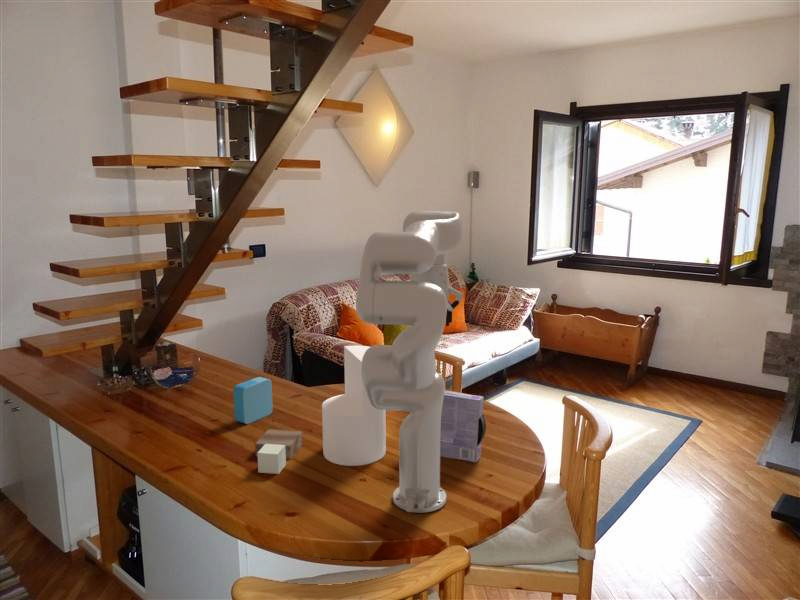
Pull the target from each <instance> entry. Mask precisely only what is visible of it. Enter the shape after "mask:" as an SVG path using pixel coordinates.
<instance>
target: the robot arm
mask: <svg viewBox="0 0 800 600" xmlns="http://www.w3.org/2000/svg"><path fill="white" fill-rule="evenodd" d="M463 233H464V222H463V218H462V216H461V214H460V213H459V212H457V211H447V210H445V211H441V210H420V211H412V212H410V213H408V214H407V215H406V217H405V219H404V220H403V222H402V232H400V231H377V232H373V233H372V234H371V235H370V236H369V237H368V239H367V241H366V243H365V246H364V249H363V253H362V257H361V262H360V263H361V264H360V271H359V277H358V284H357V290H356V297H355V309H356V313H357V317H358V318H359V319H360V320H361V321H362V322H364V323H366V324H370V325H392V326H393V325H395V326H396V325H397V326H407V327H406V328H404V329H403V330H402V331H401V332H399V334H398V335H397V336H396V338H394V340H393V342H392V345H380V344H378V345H373V346H369V347H370V348H369V349H367V350H366V352H365V353H364V356H363V358H362V364H361V375H362V381H363V385H364V388H365V391H366V393H367V396H368V399H369V402H370V404H371V405H372V406H373V407H374V408H376V409H379V410H386V411H394V412H395V411H396V412H397V411H398V412H406V413H407V412H408V413H409V414H407V416H406V417H404V420H402V423H400V427H399V431H398V433H399V436H398V437H399V439H398V440H399V441H398V442H399V443H398V446H399V451H398V452H399V453H398V455H399V457H398V458H399V459H398V460H399V463H398V464H399V467H398V468H399V471H398V472H399V475H398V476H399V480H398V482H399V484H398V485H399V486H398V487H397V488H395V490H394V491H393V494H392V502H393V503H394V504H395V506H397V507H398V508H399V509H401V510H404V511H406V512H407V513H414V514H415V513H416V514H417V513H418V514H421V513H422V514H425V513H430V512H435V511H438V510H439V509H441V508H442V507H444V505H445V504H446V502H447V493H446V490H444V489H443V488H442V487H441V457H440V438H441V415H442V407H443V400H444V394H445V391H446V382H445V378H444V377H443V376H442V375H441V373H439V372H438V371H437V362H436V354H435V351H436V348H437V346H439V345H438V344H439V343H440V341H441V338H442V336H443V332H444V329H445V326H446V327H450V324H451V323H452V322H453V310H454V309H455V308H457V306H459V304H460V302H461V301H462V298H463V297H464V293H463V292H462V291H459V290H457V289H455V288H453V287H452V286H450V277H449V275H450V274H449V269H448V264H446V263H445V259H446V257H445V254H446V253H450V252H452V251H455V250H456V249H458V248H459V246H460V245H461V242H462V239H463ZM384 274H387V275H388V274H391V275H392V274H393V275H394V274H395V275H397V274H398V275H410V276H409V280H380V276H381V275H384ZM450 294H451V295H454V296H455V300H454V301H453V302H451V301H450Z"/></svg>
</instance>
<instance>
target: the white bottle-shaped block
mask: <svg viewBox="0 0 800 600" xmlns="http://www.w3.org/2000/svg"><path fill="white" fill-rule="evenodd" d="M370 347H371V346H369V345H368V346H367V345H344V346H343V356H344V357H343V359H344V360H343V361H344V362H343V363H344V367H343V368H344V393H342V394H338V395H335V396H332V397H330V398H327V399H326V400H324V401H323V402H322V405H321V412H322V413H321V415H322V416H321V417H322V418H321V420H322V421H321V422H322V449H323V450H322V454H323V457H324V458H325V459H326V460H327V461H328V462H331V463H333V464H337V465H340V466H350V467H351V466H352V467H353V466H355V467H356V466H358V467H359V466H365V465H369V464H373V463H376V462H377V461H379V460H381V459H382V458H384V457H385V455H386V452H387V448H386V447H387V445H386V444H387V437H386V436H387V435H386V433H387V430H386V428H387V426H386V425H387V424H386V423H387V422H386V420H387V419H386V418H387V417H386V415H387V414H386V411H387V410H379V409H376V408H374V407H373V406H372V405H371V404H370V402H369V399H368V396H367V393H366V391H365V388H364V385H363V381H362V375H361V364H362V358H363V356H364V353H365V352H366V350H367V349H369V348H370Z"/></svg>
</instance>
